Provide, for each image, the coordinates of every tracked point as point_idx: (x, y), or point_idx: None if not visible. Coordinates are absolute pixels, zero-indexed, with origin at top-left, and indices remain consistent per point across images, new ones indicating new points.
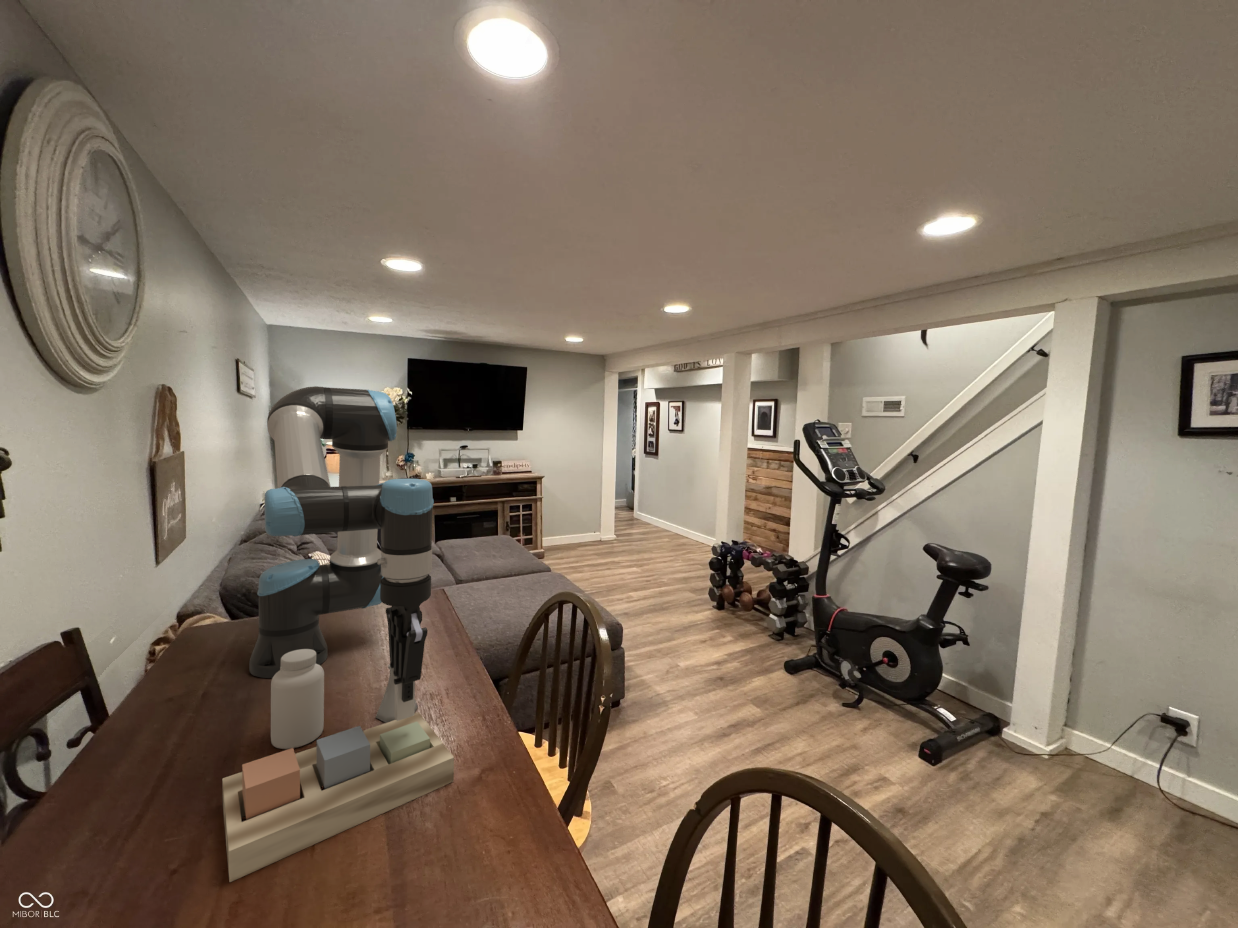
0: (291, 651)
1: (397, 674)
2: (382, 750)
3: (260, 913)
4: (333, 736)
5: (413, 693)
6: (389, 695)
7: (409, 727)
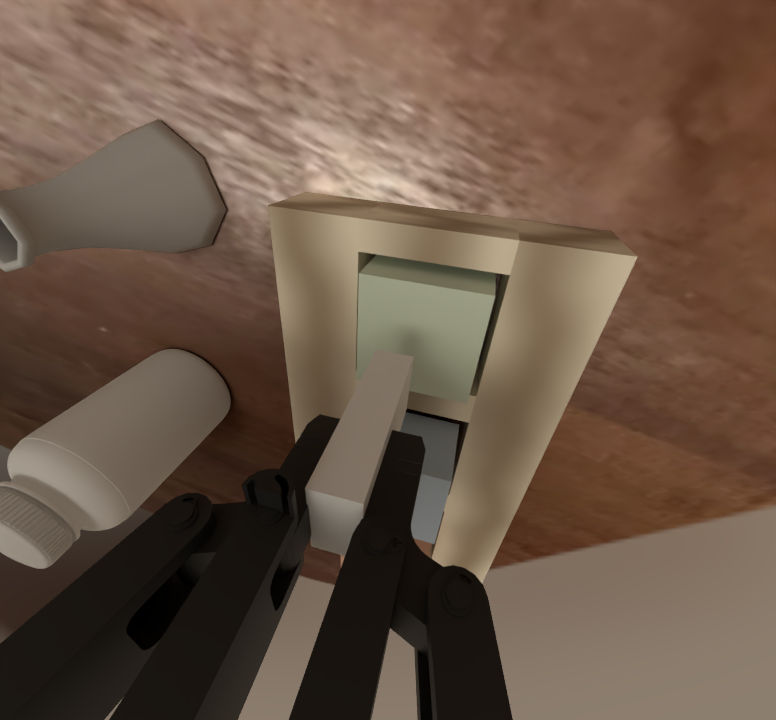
0: None
1: (303, 559)
2: None
3: (571, 547)
4: None
5: (389, 428)
6: (136, 243)
7: (379, 310)
